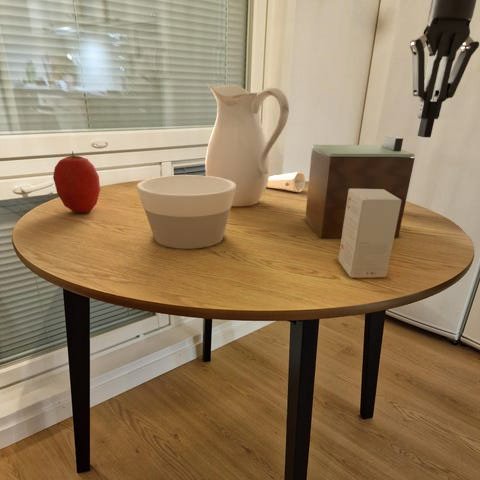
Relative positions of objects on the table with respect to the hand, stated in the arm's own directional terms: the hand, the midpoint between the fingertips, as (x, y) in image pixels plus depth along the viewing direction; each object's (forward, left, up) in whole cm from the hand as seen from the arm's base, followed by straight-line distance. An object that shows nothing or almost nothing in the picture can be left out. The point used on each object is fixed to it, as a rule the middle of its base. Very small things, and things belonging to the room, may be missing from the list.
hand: (423, 136), depth 88 cm
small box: (+19, +24, -19) cm, 36 cm away
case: (+13, 0, -19) cm, 23 cm away
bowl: (+49, +5, -19) cm, 53 cm away
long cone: (+23, -43, -19) cm, 52 cm away
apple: (+75, -16, -19) cm, 79 cm away
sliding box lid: (+13, 0, -3) cm, 14 cm away
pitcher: (+34, -22, -19) cm, 45 cm away
